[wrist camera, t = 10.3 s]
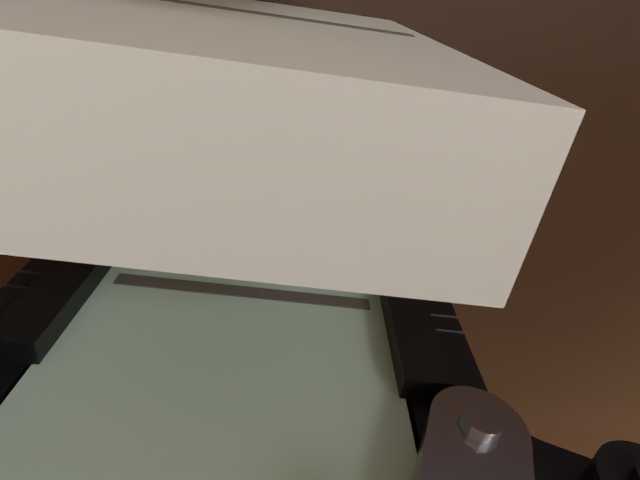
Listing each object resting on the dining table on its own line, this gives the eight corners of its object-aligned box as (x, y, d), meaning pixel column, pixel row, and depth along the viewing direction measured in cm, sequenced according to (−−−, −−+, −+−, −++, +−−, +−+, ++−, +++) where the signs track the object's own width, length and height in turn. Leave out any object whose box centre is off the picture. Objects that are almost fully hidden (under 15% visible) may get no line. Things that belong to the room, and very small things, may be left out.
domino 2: (178, -13, 10) (-258, -10, 3) (391, 19, 11) (586, 106, 3) (179, 63, 11) (-148, 240, 3) (377, 89, 12) (503, 310, 4)
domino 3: (173, 178, 12) (-133, 577, 4) (364, 201, 12) (451, 612, 4) (175, 234, 12) (-75, 659, 5) (354, 254, 13) (410, 683, 5)
